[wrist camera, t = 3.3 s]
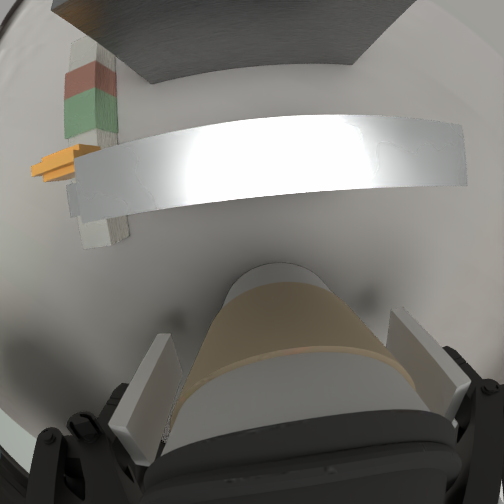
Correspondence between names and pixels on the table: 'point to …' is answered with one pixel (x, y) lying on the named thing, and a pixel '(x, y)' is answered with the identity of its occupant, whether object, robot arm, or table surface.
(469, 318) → the table surface
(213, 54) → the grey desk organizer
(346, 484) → the coffee cup
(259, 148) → the light grey slab
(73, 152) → the orange stepped block
